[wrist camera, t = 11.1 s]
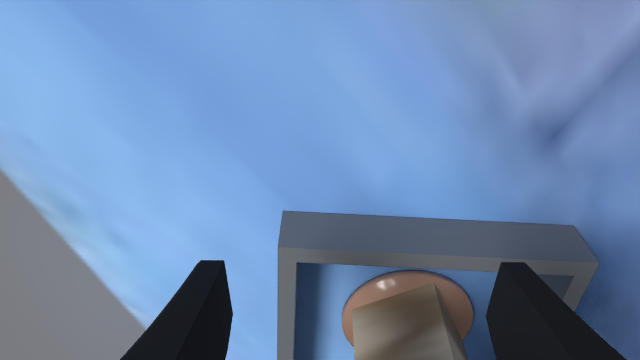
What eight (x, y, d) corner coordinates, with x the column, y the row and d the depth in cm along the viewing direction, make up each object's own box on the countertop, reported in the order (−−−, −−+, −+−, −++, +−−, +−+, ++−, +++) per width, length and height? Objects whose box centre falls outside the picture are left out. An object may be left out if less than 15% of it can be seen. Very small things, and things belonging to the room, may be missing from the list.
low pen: (573, 225, 22) (600, 263, 19) (497, 394, 29) (510, 434, 27) (282, 210, 21) (277, 247, 19) (280, 384, 29) (277, 424, 27)
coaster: (485, 273, 23) (488, 279, 23) (456, 359, 27) (457, 365, 27) (347, 266, 23) (348, 272, 23) (337, 354, 27) (337, 360, 27)
